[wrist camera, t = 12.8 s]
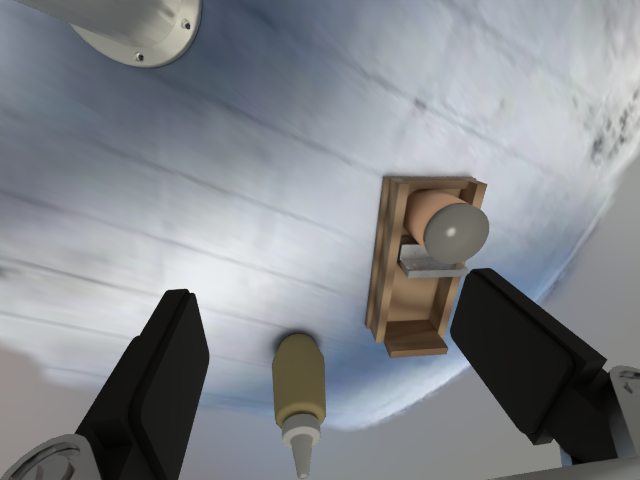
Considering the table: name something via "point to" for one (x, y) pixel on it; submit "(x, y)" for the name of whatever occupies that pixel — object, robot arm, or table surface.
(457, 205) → the jar
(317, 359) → the squeeze bottle
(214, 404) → the table surface
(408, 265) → the plate
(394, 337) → the wooden tray
